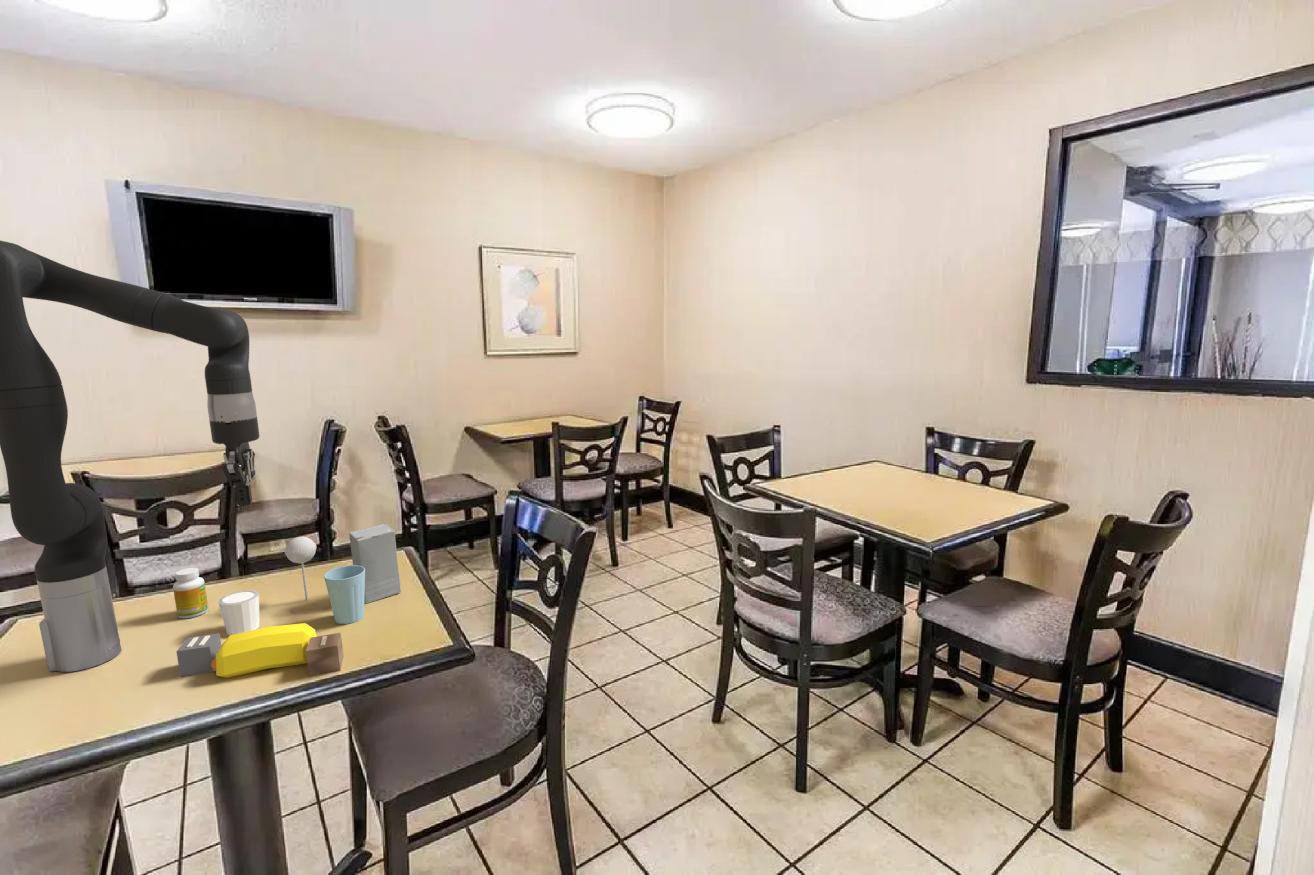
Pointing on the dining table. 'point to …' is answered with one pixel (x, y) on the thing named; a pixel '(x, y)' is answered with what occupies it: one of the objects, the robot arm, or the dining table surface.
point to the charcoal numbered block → (198, 654)
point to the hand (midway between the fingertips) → (245, 504)
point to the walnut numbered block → (324, 654)
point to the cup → (346, 593)
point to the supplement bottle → (190, 593)
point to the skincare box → (376, 561)
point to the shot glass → (240, 611)
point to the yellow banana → (263, 649)
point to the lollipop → (301, 554)
